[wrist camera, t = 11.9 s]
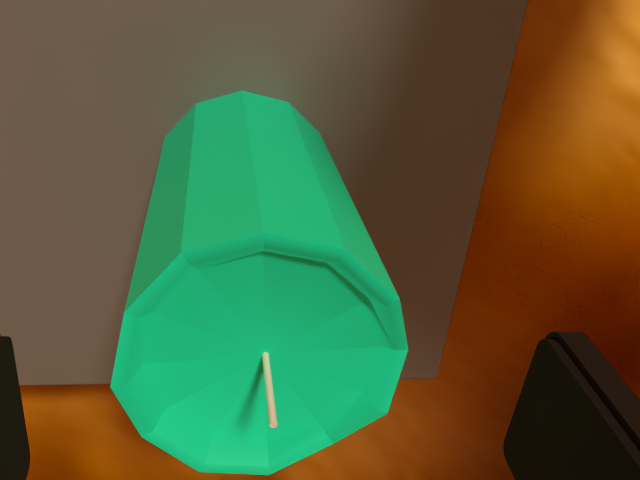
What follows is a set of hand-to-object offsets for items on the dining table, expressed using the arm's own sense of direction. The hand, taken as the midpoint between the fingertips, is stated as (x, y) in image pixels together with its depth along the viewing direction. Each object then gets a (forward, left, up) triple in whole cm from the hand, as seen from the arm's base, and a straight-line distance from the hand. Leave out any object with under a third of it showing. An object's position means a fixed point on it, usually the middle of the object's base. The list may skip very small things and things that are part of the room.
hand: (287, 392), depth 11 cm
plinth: (+1, 0, -16) cm, 16 cm away
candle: (0, 0, -12) cm, 12 cm away
